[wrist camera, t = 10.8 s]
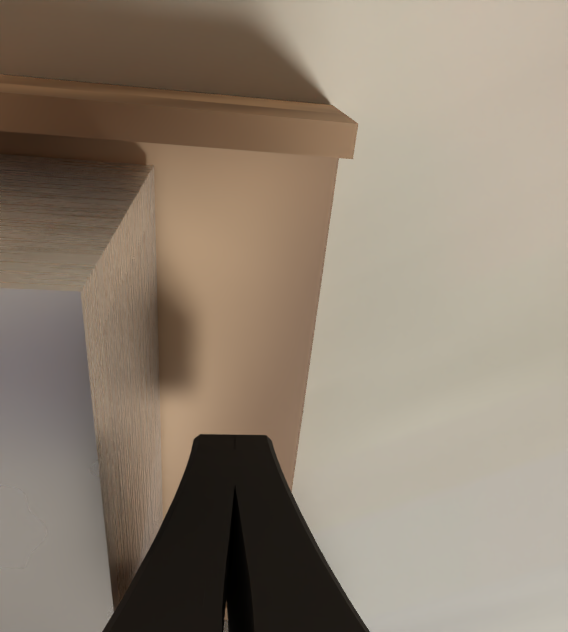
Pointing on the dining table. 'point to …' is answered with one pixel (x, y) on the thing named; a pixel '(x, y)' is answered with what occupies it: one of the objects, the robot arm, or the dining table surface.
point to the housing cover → (76, 389)
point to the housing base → (211, 240)
